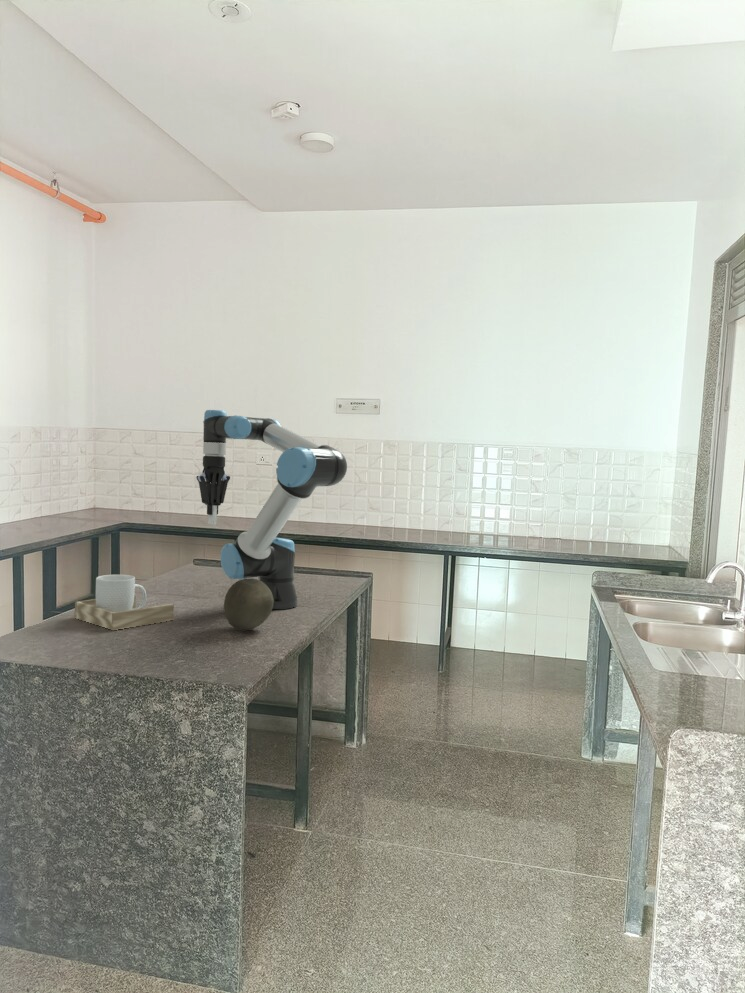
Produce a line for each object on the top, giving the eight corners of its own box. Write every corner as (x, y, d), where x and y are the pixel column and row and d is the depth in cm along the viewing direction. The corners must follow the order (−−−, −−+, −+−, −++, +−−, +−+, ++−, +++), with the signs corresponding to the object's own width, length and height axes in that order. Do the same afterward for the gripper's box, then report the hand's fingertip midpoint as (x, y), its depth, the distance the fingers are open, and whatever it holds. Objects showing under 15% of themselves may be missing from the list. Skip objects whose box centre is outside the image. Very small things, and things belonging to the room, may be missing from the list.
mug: (139, 614, 228) (140, 572, 228) (152, 621, 220) (153, 578, 219) (90, 618, 219) (91, 575, 219) (101, 626, 211) (102, 581, 210)
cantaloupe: (225, 636, 205) (226, 583, 204) (221, 624, 219) (223, 575, 218) (275, 635, 209) (277, 583, 208) (268, 623, 223) (270, 574, 222)
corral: (173, 620, 222) (173, 604, 221) (113, 631, 206) (113, 613, 206) (133, 608, 235) (134, 593, 235) (74, 618, 219) (75, 601, 219)
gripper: (222, 455, 257) (220, 522, 259) (191, 454, 247) (189, 524, 249) (236, 456, 253) (234, 524, 254) (205, 455, 243) (203, 526, 244)
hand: (212, 524), depth 251 cm, fingers closed
